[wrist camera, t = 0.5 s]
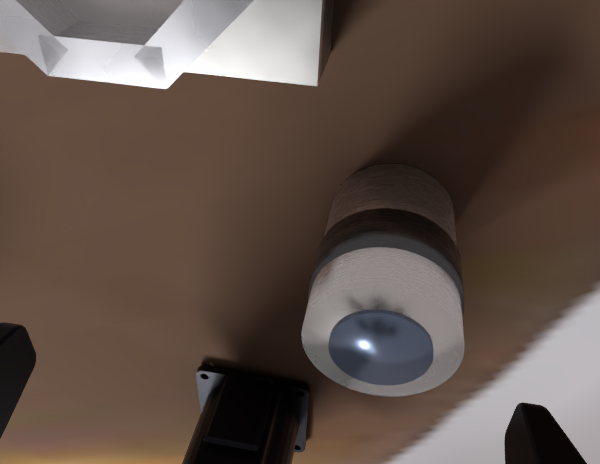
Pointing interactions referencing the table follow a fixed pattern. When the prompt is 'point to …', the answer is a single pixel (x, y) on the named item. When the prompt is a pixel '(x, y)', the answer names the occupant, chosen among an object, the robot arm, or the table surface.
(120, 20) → the camera body
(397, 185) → the lens
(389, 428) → the table surface
